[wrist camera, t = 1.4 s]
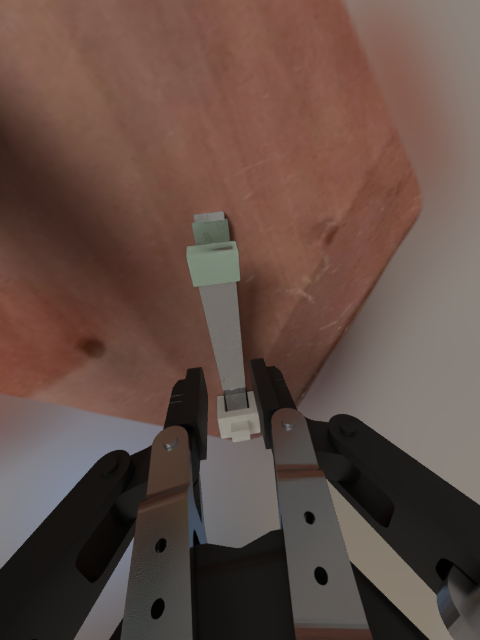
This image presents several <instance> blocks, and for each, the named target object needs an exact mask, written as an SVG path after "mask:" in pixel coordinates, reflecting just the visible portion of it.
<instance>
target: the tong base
mask: <svg viewBox="0 0 480 640" xmlns="http://www.w3.org/2000/svg"><path fill="white" fill-rule="evenodd" d="M194 220H195V223H192V227H193V232H194V238H195V243H196V246H198V245H206V244H214V243H222V242H230V236H229V228H228V219H224V211H222V212H214V213H205V214H196V215H194ZM224 394H225V398H226V404H227V410H228V411H234V410H240V409H247V400H246V392H245V387H244V388H237V389H231V390H224Z"/></svg>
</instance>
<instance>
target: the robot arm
mask: <svg viewBox="0 0 480 640" xmlns="http://www.w3.org/2000/svg"><path fill="white" fill-rule="evenodd" d="M250 370H251V380H252V388H253V393H254V398H255V402H256V407H257V411H258V416H259V420H260V425H261V429H262V434H263V438H264V442H265V446H266V449H272V453H273V457H274V469H275V479H276V489H277V499H278V508H279V509H278V510H279V519H280V520H279V521H280V530H274V531H270V532H269V533H267V534H265V535H263V536H262V537H260V538H258V539H256V540H255V541H253V542H251V543H249V544H247V545H246V546H244V547H242V548H232V547H226V546H220V545H214V544H207V538H206V533H205V526H204V515H203V504H202V492H201V481H200V474H199V471H200V460H205V459H206V457H207V421H208V393H207V387H206V383H205V378H204V373H203V369H202V367H198V368H192V369H188V370H187V375H186V379H183V380H178V382H177V383H176V384H175V386H174V387H173V389H172V394H171V398H170V404H169V407H168V411H167V416H166V420H165V424H164V429H163V431H161V432H160V433H159V434H158V435H157V436H156V437H155V439H154V441H153V443H152V445H151V446H149V447H148V448H146V449H144V450H142V451H139V452H137V453H135V454H133V455H131V456H130V455H129V454H128V453H127V452H126V451H124V450H116V451H112V452H110V453H108V454H106V455H104V456H103V457H102V458H100V459H99V460H98V461H97V462H96V463H95V464H94V465H93V467H92V468H91V469H90V470H89V471H88V472H87V473H86V474H85V475H84V477H83V478H82V479H81V480H80V481H79V482H78V483H77V484H76V486H75V487H74V488H73V489H72V490H71V491H70V492H69V493H68V495H67V496H66V497H65V498H64V499H63V500H62V501H61V502H60V503H59V504H58V506H57V507H56V508H55V509H54V510H53V511H52V512H51V513H50V515H49V516H48V517H47V518H46V519H45V520H44V521H43V522H42V523H41V525H40V526H39V527H38V528H37V529H36V530H35V531H34V532H33V534H32V535H31V536H30V537H29V538H28V539H27V540H26V541H25V542H24V544H23V545H22V546H21V547H20V548H19V549H18V550H17V551H16V553H15V554H14V555H13V556H12V557H11V558H10V559H9V560H8V561H7V563H6V564H5V565H4V566H3V567H2V568H1V569H0V640H74V638H75V636H76V634H77V633H78V631H79V629H80V627H81V626H82V624H83V623H84V621H85V619H86V617H87V616H88V614H89V612H90V611H91V609H92V607H93V605H94V604H95V602H96V600H97V599H98V597H99V595H100V593H101V592H102V590H103V588H104V587H105V585H106V583H107V582H108V580H109V578H110V576H111V575H112V573H113V571H114V570H115V568H116V566H117V565H118V563H119V561H120V559H121V558H122V556H123V554H124V553H125V551H126V549H127V548H128V546H129V544H130V542H131V541H132V539H133V537H134V543H133V550H132V558H131V566H130V573H129V580H128V588H127V595H126V603H125V610H124V617H123V619H122V620H121V622H120V623H119V625H118V626H117V628H116V630H115V631H114V633H113V634H112V636H111V638H110V639H109V640H429V639H428V638H427V637H426V636H425V635H424V634H423V633H422V632H421V631H420V630H419V629H418V628H417V627H416V626H415V625H414V624H413V623H412V622H411V621H410V620H409V619H408V618H407V617H406V616H405V615H404V614H403V613H402V612H401V611H400V610H399V609H398V608H397V607H396V606H395V605H394V604H393V603H392V602H391V601H390V600H389V599H388V598H387V597H386V596H385V595H384V594H383V593H382V592H381V591H380V590H379V589H378V588H377V587H376V586H375V585H374V584H373V583H372V582H371V581H370V580H369V579H368V578H367V577H366V576H365V575H364V574H363V573H362V572H361V571H360V570H359V569H358V568H357V567H356V566H355V565H354V564H353V563H352V562H351V561H350V560H349V557H348V554H347V550H346V547H345V543H344V539H343V536H342V533H341V529H340V526H339V522H338V519H337V515H336V512H335V508H334V505H333V502H332V498H331V495H330V491H329V487H328V484H327V480H326V479H328V481H329V482H330V483H331V484H332V485H333V486H334V487H335V488H336V489H337V490H338V492H339V493H340V494H341V495H342V496H343V497H344V498H345V499H346V500H347V501H348V502H349V503H350V504H351V505H352V506H353V507H354V508H355V509H356V510H357V511H358V513H359V514H360V515H361V516H362V517H363V518H364V519H365V520H366V521H367V522H368V523H369V524H370V525H371V526H372V527H373V528H374V529H375V530H376V532H377V533H378V534H379V535H380V536H381V537H382V538H383V539H384V540H385V541H386V542H387V543H388V544H389V545H390V546H391V547H392V548H393V549H394V550H395V551H396V553H397V554H398V555H399V556H400V557H401V558H402V559H403V560H404V561H405V562H406V563H407V564H408V565H409V566H410V567H411V568H412V569H413V570H414V571H415V573H416V574H417V575H418V576H419V577H420V578H421V579H422V580H423V581H424V582H425V583H426V584H427V585H428V586H429V587H430V588H431V589H432V590H433V592H434V593H435V594H436V595H437V605H438V609H439V612H440V615H441V618H442V620H443V622H444V624H445V626H446V628H447V630H448V631H449V633H450V635H451V636H452V637H453V639H454V640H480V505H479V504H477V503H476V502H474V501H473V500H472V499H470V498H469V497H467V496H466V495H465V494H463V493H462V492H460V491H459V490H457V489H456V488H455V487H453V486H452V485H450V484H449V483H448V482H446V481H445V480H443V479H442V478H440V477H439V476H438V475H436V474H435V473H433V472H432V471H431V470H429V469H428V468H426V467H425V466H423V465H422V464H421V463H419V462H418V461H417V460H415V459H414V458H412V457H411V456H409V455H408V454H407V453H405V452H404V451H403V450H401V449H400V448H398V447H397V446H395V445H394V444H392V443H391V442H390V441H388V440H387V439H385V438H384V437H383V436H381V435H380V434H378V433H377V432H376V431H374V430H373V429H371V428H370V427H368V426H367V425H366V424H364V423H363V422H362V421H360V420H359V419H357V418H355V417H353V416H350V415H347V414H338V415H335V416H333V417H332V418H331V419H330V420H329V422H321V421H314V420H310V419H308V418H306V417H304V416H303V415H302V413H300V412H299V411H298V410H297V408H296V406H295V404H294V401H293V399H292V397H291V394H290V392H289V390H288V387H287V386H286V383H285V380H284V378H283V376H282V373H281V371H280V370H279V369H277V368H276V367H275V366H270V367H266V365H265V362H264V359H263V358H259V359H253V360H250Z"/></svg>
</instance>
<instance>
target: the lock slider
mask: <svg viewBox="0 0 480 640" xmlns="http://www.w3.org/2000/svg"><path fill="white" fill-rule="evenodd" d="M247 395H248V404H249V408H247V409H240V410H234V411H228V412H226V406H225V400H224V396H217V415H218V424H219V428H220V433H221V438H222V439H224V438H230V437H232V441H233V442H239V441H245V440H250V434H255V433H260V423H259V416H258V411H257V407H256V402H255V398H254V393H253V391H249V392H247Z"/></svg>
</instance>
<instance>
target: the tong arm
mask: <svg viewBox="0 0 480 640" xmlns="http://www.w3.org/2000/svg"><path fill="white" fill-rule="evenodd" d="M186 258H187V262H188V266H189V270H190V274H191V278H192V282H193V286H194V287H197V286H198V287H199V291H200V295H201V299H202V304H203V308H204V312H205V316H206V321H207V325H208V329H209V333H210V337H211V342H212V346H213V350H214V354H215V359H216V363H217V367H218V371H219V375H220V380H221V384H222V388H223V391H224V390H231V389H237V388H244V387H245V376H244V365H243V354H242V342H241V331H240V320H239V309H238V298H237V286H236V281H240V271H239V257H238V249H237V245H236V242H235V241H230V242H222V243H214V244H206V245H198V246H189V247H187V256H186Z"/></svg>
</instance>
